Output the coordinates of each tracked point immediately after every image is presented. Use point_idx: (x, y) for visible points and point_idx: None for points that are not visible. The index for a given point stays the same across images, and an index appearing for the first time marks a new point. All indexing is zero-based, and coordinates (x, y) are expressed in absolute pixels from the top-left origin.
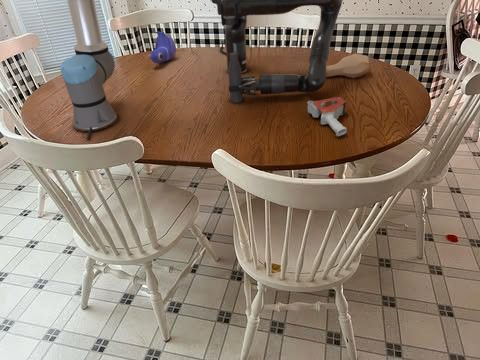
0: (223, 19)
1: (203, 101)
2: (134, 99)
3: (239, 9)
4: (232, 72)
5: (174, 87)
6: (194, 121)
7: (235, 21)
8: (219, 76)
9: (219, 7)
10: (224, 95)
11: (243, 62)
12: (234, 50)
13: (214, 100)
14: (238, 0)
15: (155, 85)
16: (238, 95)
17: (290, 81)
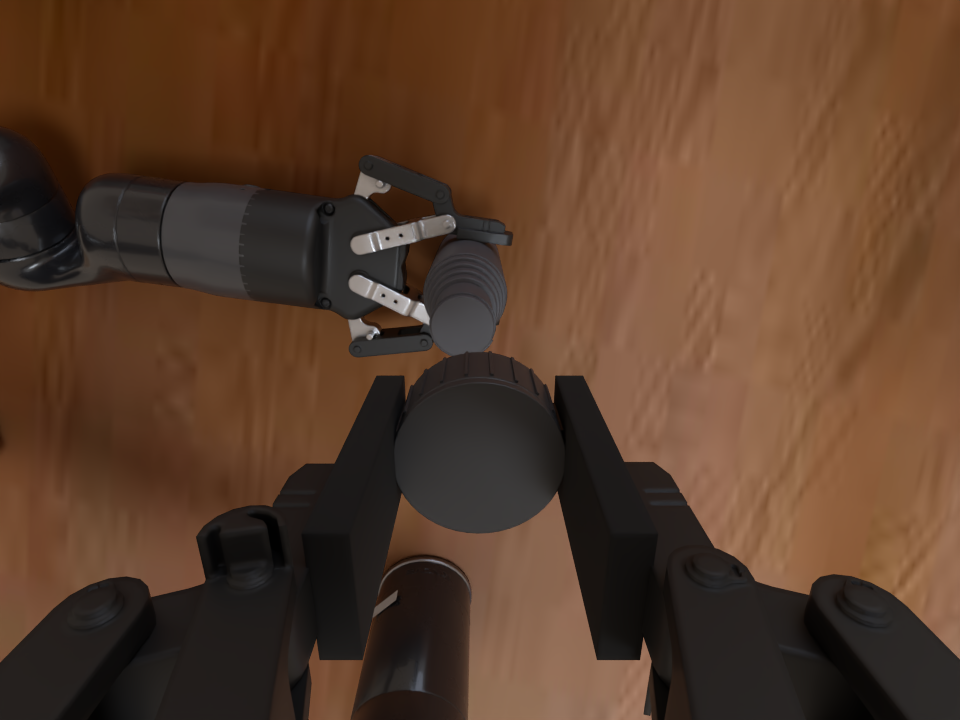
0: (575, 406)
1: (631, 286)
2: (944, 392)
3: (296, 498)
4: (484, 259)
5: (738, 481)
6: (716, 45)
7: (404, 406)
8: (514, 552)
9: (668, 533)
10: (520, 332)
11: (389, 600)
12: (426, 653)
13: (576, 284)
14: (243, 590)
15: (818, 523)
16: None
17: (135, 187)
